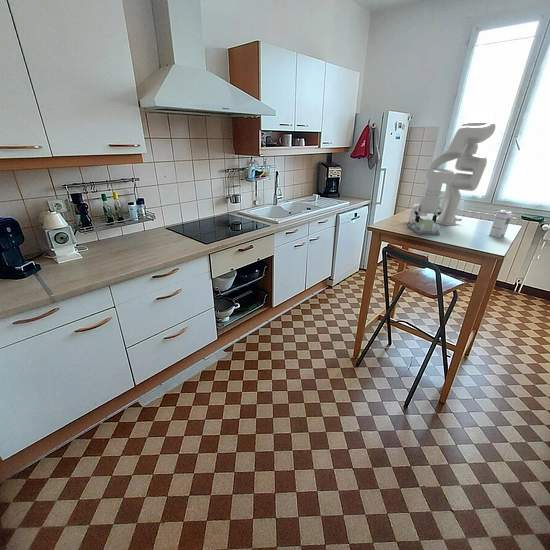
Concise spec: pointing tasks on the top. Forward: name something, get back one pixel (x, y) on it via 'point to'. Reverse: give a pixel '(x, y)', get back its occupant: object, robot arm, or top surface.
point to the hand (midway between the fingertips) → (425, 222)
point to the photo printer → (414, 213)
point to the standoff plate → (420, 231)
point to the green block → (426, 221)
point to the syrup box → (500, 223)
